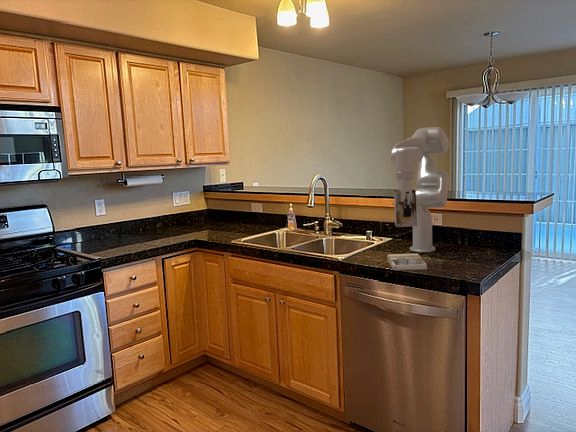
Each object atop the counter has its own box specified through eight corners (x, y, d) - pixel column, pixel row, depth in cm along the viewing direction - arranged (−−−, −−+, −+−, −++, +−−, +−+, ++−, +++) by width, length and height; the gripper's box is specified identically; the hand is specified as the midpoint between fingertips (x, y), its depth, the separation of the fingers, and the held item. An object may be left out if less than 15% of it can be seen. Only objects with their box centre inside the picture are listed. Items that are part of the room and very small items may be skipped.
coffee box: (415, 224, 203) (414, 189, 200) (417, 226, 196) (416, 190, 194) (394, 224, 204) (393, 190, 202) (395, 227, 198) (395, 191, 195)
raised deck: (387, 260, 210) (387, 254, 209) (417, 259, 209) (417, 253, 209) (391, 266, 200) (391, 259, 200) (422, 264, 199) (422, 258, 199)
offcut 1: (397, 257, 198) (398, 259, 195) (405, 257, 198) (406, 259, 195) (397, 265, 199) (398, 267, 195) (405, 265, 199) (406, 267, 195)
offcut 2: (407, 257, 197) (408, 259, 194) (415, 257, 197) (416, 259, 193) (407, 265, 198) (408, 267, 194) (415, 265, 197) (416, 267, 194)
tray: (391, 266, 200) (391, 261, 200) (422, 264, 199) (422, 260, 199) (394, 270, 192) (394, 265, 192) (427, 269, 191) (427, 264, 191)
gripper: (393, 175, 206) (393, 213, 208) (400, 177, 189) (400, 219, 191) (409, 174, 205) (410, 212, 208) (418, 176, 188) (418, 218, 191)
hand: (405, 215), depth 200 cm, fingers closed on coffee box, 6 cm apart
